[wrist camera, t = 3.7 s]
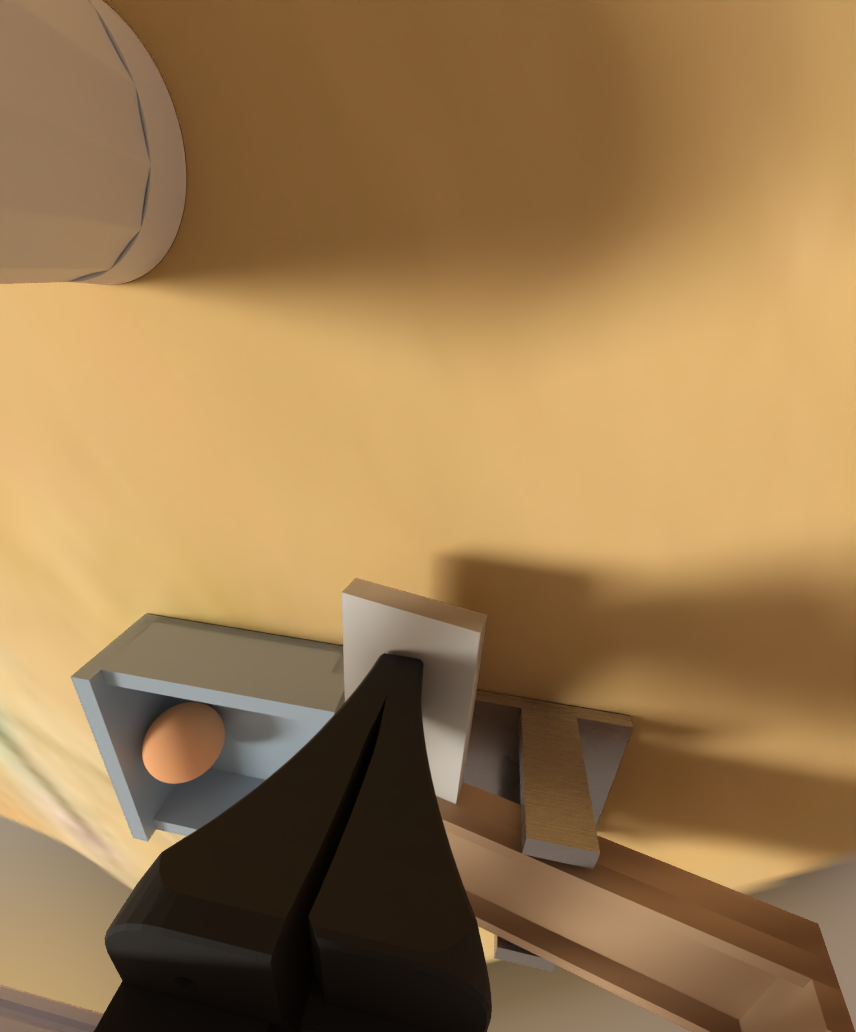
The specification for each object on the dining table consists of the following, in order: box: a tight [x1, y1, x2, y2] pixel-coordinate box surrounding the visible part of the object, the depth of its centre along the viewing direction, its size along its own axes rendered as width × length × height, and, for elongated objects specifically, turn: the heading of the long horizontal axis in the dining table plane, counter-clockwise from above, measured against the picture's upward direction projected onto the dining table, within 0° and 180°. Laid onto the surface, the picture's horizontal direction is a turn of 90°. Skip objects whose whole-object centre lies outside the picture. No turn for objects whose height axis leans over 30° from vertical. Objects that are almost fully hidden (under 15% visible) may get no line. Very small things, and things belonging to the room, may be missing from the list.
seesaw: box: [342, 578, 855, 1032], centre depth 13 cm, size 14×12×2 cm
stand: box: [463, 690, 633, 972], centre depth 16 cm, size 6×7×5 cm
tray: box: [71, 614, 345, 841], centre depth 18 cm, size 9×9×4 cm
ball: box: [142, 702, 225, 784], centre depth 18 cm, size 3×3×3 cm
